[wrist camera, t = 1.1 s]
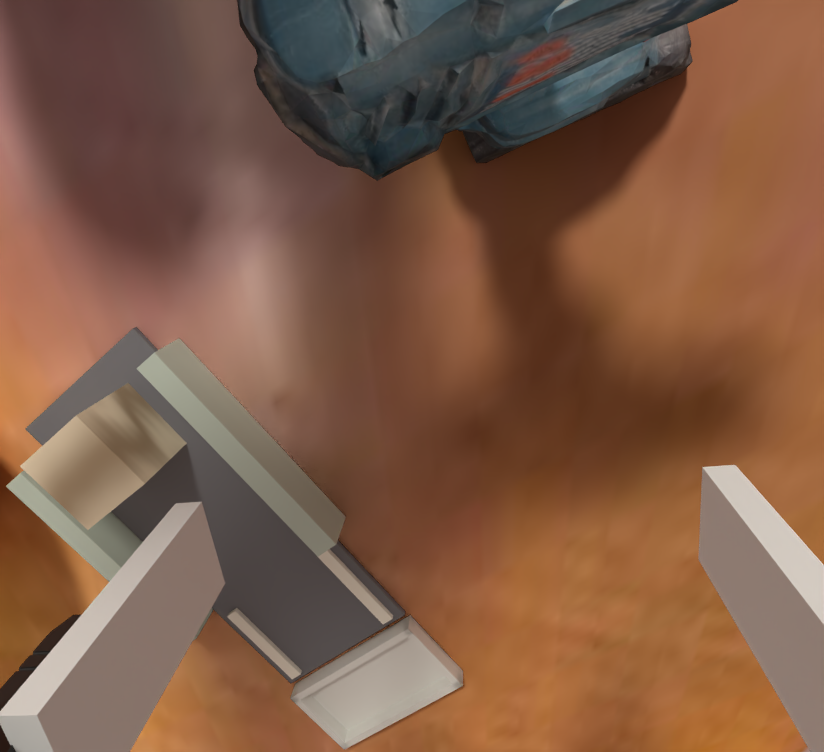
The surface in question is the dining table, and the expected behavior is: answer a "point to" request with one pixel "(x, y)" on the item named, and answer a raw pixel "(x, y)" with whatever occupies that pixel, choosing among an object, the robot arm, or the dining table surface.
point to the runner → (238, 535)
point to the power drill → (456, 69)
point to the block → (104, 455)
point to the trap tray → (378, 683)
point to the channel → (229, 437)
